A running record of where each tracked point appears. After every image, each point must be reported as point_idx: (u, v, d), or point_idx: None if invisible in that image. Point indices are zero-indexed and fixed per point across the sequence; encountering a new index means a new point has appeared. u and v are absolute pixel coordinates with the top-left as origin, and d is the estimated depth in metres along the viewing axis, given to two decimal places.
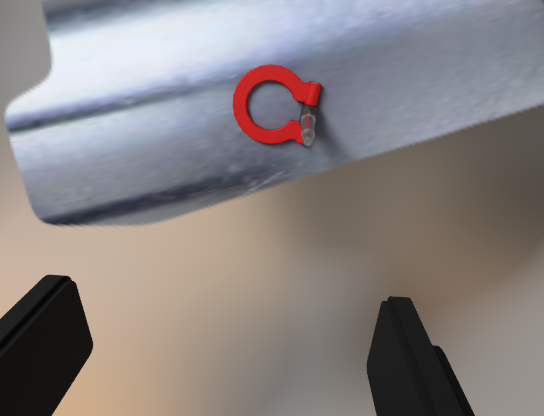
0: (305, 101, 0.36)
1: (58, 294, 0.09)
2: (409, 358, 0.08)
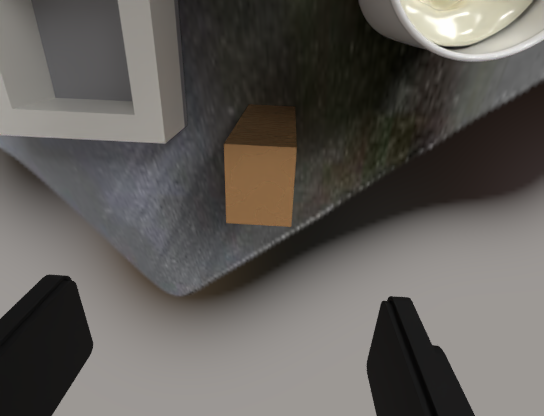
0: None
1: (58, 294, 0.09)
2: (409, 358, 0.08)
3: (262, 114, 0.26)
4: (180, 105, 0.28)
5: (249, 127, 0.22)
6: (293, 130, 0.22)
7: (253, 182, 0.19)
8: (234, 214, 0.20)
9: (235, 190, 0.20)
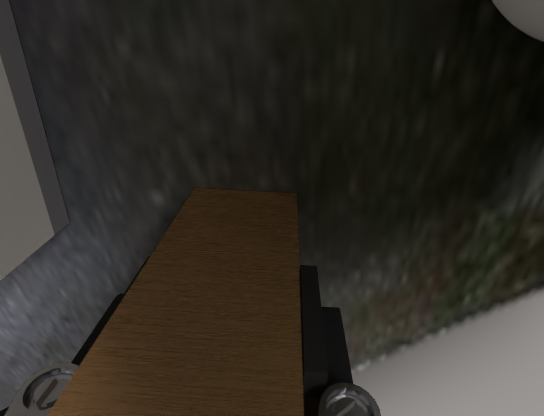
0: None
1: None
2: None
3: (211, 243, 0.10)
4: (29, 196, 0.12)
5: (131, 370, 0.06)
6: (293, 395, 0.06)
7: None
8: None
9: None
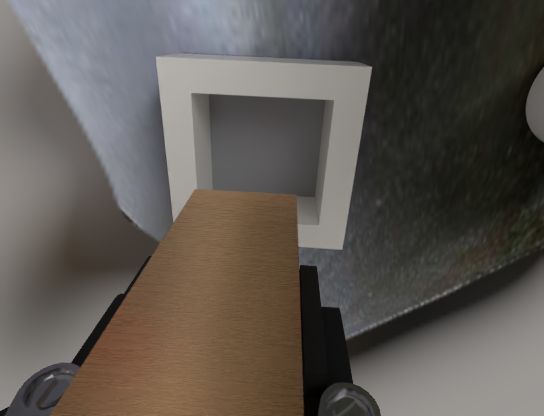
0: None
1: None
2: None
3: (211, 245, 0.10)
4: None
5: (132, 372, 0.06)
6: (293, 397, 0.06)
7: None
8: None
9: None
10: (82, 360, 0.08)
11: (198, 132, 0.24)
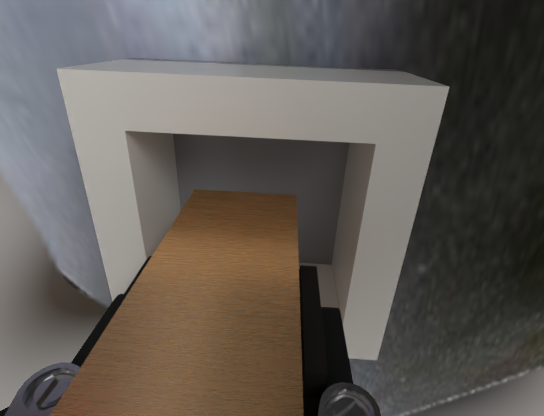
0: None
1: None
2: None
3: (211, 245, 0.10)
4: None
5: (132, 373, 0.06)
6: (293, 397, 0.06)
7: None
8: None
9: None
10: (82, 360, 0.08)
11: (148, 188, 0.15)
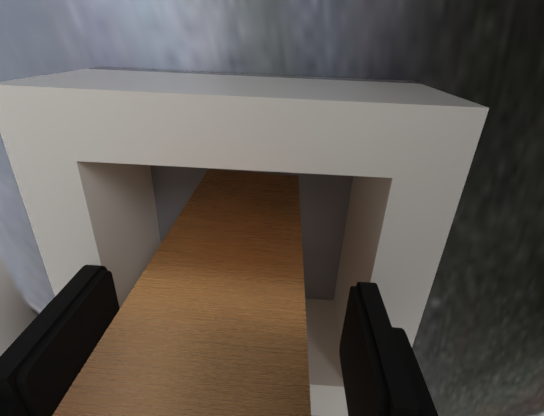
0: None
1: (97, 282, 0.10)
2: (369, 336, 0.08)
3: (227, 211, 0.11)
4: None
5: (173, 294, 0.08)
6: (298, 312, 0.07)
7: None
8: None
9: None
10: None
11: (114, 224, 0.12)
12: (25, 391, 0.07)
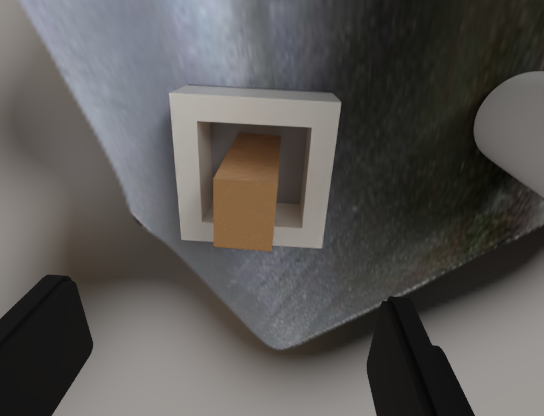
0: None
1: (58, 294, 0.09)
2: (409, 358, 0.08)
3: (250, 144, 0.28)
4: None
5: (237, 159, 0.24)
6: (276, 164, 0.24)
7: (239, 211, 0.22)
8: (221, 239, 0.23)
9: (222, 219, 0.22)
10: None
11: (202, 151, 0.29)
12: None
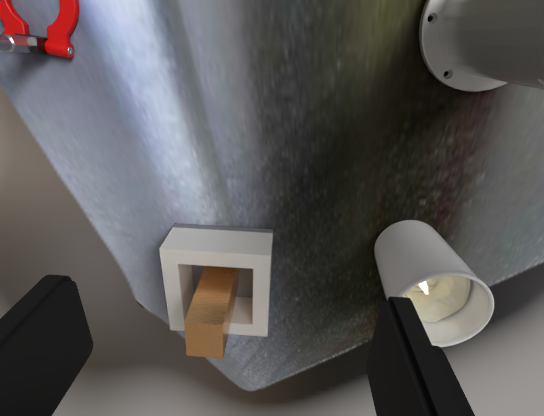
0: (48, 40, 0.34)
1: (58, 294, 0.09)
2: (409, 358, 0.08)
3: (214, 273, 0.42)
4: None
5: (202, 296, 0.38)
6: (227, 299, 0.38)
7: (200, 338, 0.35)
8: (191, 351, 0.36)
9: (191, 341, 0.36)
10: None
11: (182, 276, 0.42)
12: None
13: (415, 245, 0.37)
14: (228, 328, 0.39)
